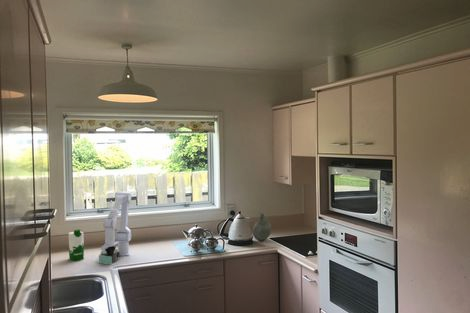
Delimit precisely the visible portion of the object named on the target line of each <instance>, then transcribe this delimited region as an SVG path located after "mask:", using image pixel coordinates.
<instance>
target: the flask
mask: <svg viewBox="0 0 470 313" xmlns="http://www.w3.org/2000/svg"><path fill="white" fill-rule="evenodd" d="M271 233H272V225H271V222H270V221H269V220H267V219H265V213H264V212H261V213H259V220H258V221H256V222H254V225H253V227H252V235H253V238H254V239H255V240H256V241H259V242H263V241H266V240H267V239H268V238H269V237H270V235H271Z"/></svg>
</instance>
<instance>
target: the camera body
mask: <svg viewBox="0 0 470 313" xmlns="http://www.w3.org/2000/svg"><path fill="white" fill-rule="evenodd" d="M99 255H102V256H108V255H107V252H106V251H105V249H104V250H101V252H100V254H99ZM120 258H121V256H120V251H119V252H118V248H115V250H114V253H113V257H112V263H116V262H117V261H118V259H120Z"/></svg>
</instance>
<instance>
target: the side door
mask: <svg viewBox="0 0 470 313" xmlns="http://www.w3.org/2000/svg"><path fill="white" fill-rule="evenodd" d="M98 264H103V265H110V266H111V265H112V264H113V262H112V257H111V256H102V255H100V254H99V255H98Z"/></svg>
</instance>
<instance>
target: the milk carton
mask: <svg viewBox="0 0 470 313" xmlns="http://www.w3.org/2000/svg"><path fill="white" fill-rule="evenodd" d="M84 235H85V233H84V232H82V231H81V229H73V231H72V232H71V231H70V232H68V256H69V258H68V259H69V260H70V261H71V262H76V261H83V260H84V258H85V253H84V252H85V250H84V247H85V246H84V245H85V244H84V243H85V242H84V241H85V238H84V237H85V236H84Z"/></svg>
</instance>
